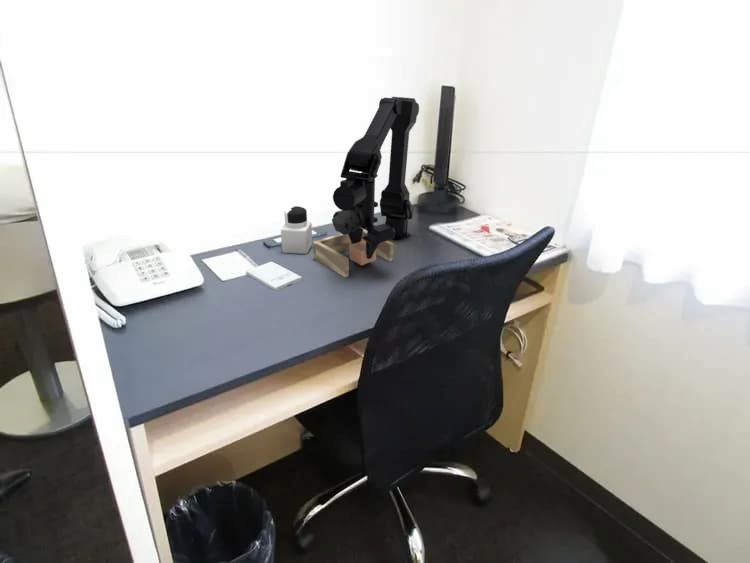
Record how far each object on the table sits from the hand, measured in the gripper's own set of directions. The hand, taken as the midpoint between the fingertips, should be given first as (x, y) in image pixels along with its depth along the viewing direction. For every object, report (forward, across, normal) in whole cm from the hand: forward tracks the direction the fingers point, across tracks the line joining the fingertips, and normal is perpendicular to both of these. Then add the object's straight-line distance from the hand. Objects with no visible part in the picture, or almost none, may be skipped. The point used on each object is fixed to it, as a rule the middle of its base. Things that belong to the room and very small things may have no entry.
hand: (362, 255), depth 127 cm
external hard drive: (+4, -8, -22) cm, 24 cm away
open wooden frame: (+3, -4, 0) cm, 5 cm away
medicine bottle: (+3, -20, -8) cm, 21 cm away
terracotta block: (+1, 0, 0) cm, 1 cm away
